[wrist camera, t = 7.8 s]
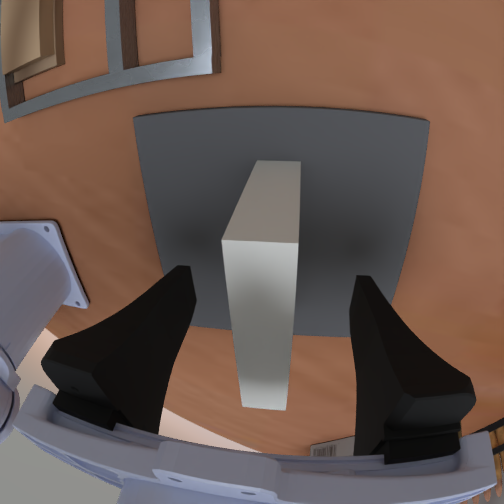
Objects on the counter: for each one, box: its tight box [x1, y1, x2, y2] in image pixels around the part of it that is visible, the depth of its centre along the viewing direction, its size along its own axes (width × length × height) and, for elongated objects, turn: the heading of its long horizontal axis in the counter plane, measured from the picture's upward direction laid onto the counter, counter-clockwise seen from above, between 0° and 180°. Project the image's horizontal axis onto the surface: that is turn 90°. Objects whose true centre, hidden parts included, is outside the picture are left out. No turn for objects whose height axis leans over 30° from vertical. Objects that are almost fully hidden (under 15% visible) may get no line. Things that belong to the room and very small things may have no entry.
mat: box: [133, 106, 430, 337], centre depth 16 cm, size 14×14×1 cm
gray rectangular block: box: [221, 160, 301, 411], centre depth 13 cm, size 2×9×7 cm, turn 2°
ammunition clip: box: [460, 418, 504, 504], centre depth 24 cm, size 11×2×12 cm, turn 131°
